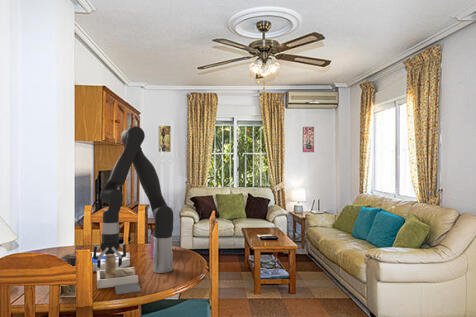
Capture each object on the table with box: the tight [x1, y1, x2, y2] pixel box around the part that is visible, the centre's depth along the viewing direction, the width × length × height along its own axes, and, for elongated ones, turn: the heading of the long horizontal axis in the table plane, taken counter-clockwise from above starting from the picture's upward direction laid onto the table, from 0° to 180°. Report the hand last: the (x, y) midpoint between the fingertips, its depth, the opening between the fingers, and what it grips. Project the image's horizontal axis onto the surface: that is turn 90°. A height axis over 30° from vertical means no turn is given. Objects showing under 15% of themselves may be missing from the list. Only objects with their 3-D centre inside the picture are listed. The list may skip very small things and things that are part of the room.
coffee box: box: [59, 253, 76, 297], centre depth 143 cm, size 9×6×16 cm
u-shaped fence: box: [96, 266, 139, 289], centre depth 160 cm, size 17×15×4 cm
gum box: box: [149, 232, 154, 259], centre depth 210 cm, size 24×8×14 cm, turn 0°
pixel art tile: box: [91, 250, 131, 272], centre depth 187 cm, size 28×4×28 cm
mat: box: [114, 282, 142, 295], centre depth 150 cm, size 10×10×1 cm
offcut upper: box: [122, 266, 136, 277], centre depth 162 cm, size 4×7×2 cm, turn 38°
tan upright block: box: [104, 253, 117, 279], centre depth 159 cm, size 4×10×12 cm, turn 23°
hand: (109, 267), depth 160 cm, fingers open, 8 cm apart
